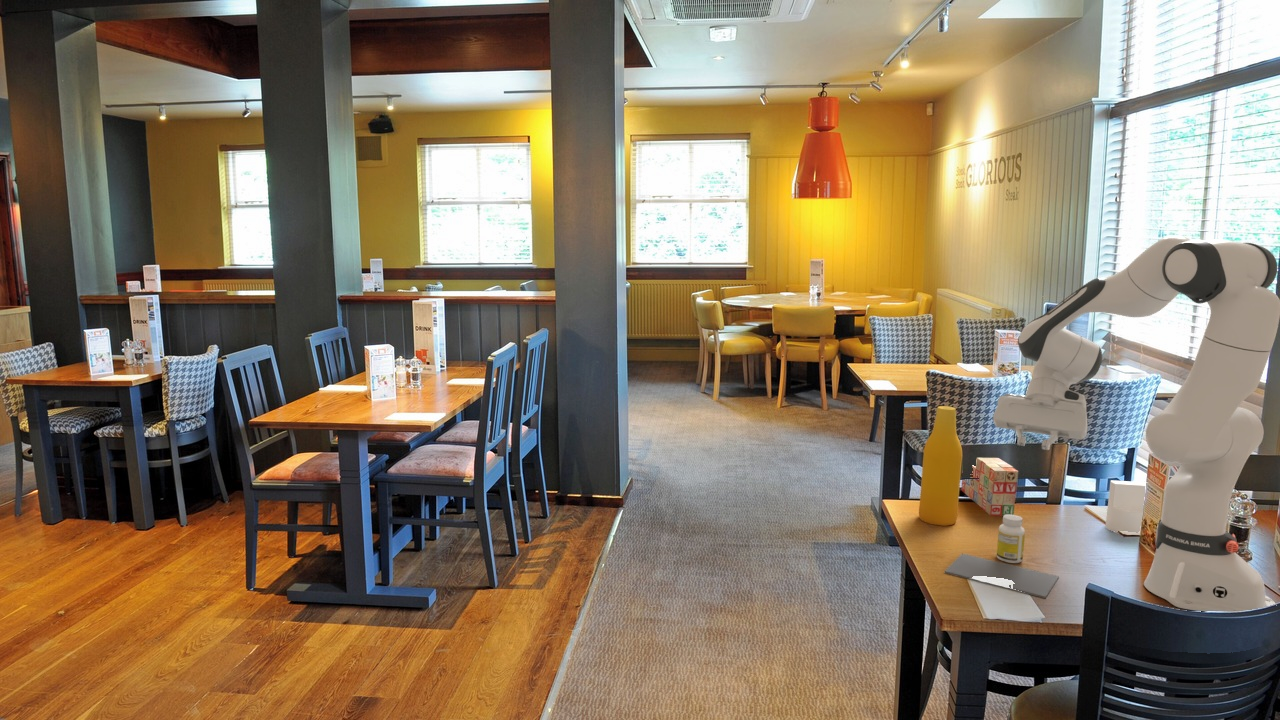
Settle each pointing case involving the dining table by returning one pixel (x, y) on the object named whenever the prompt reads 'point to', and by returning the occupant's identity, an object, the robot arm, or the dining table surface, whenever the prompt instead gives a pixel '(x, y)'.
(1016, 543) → the supplement bottle
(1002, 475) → the stack of blocks
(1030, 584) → the charcoal mat
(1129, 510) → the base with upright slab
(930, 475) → the yellow bottle
